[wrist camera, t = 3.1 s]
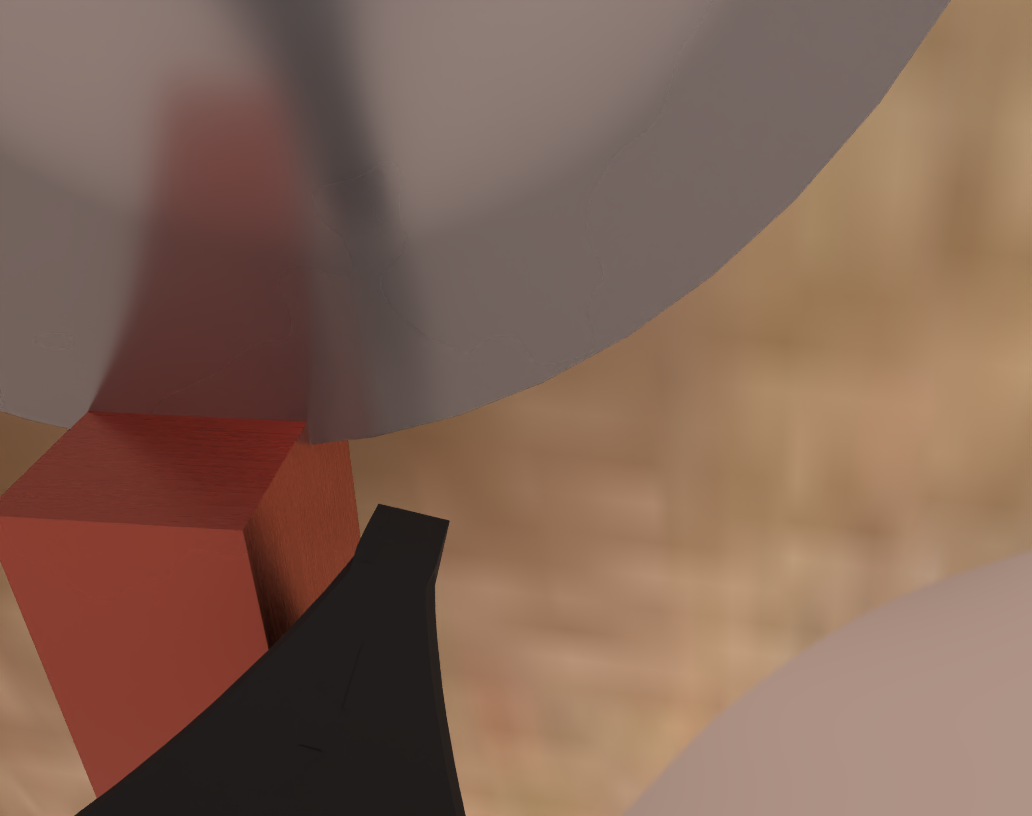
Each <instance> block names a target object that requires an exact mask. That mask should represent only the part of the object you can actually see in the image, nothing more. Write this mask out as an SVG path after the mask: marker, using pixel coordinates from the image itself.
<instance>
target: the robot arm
mask: <svg viewBox="0 0 1032 816" xmlns="http://www.w3.org/2000/svg"><path fill="white" fill-rule="evenodd" d="M448 526H449V520H445V519H441V518H436V517H432V516H428V515H424V514H420V513H415V512H411V511H407V510H403V509H399V508H395V507H390V506H386V505H382V504H378V506H377V508H376V510H375V511H374V513H373V515H372V517H371V519H370V521H369V523H368V524H367V526H366V528H365V530H364V533H363V535H362V537H361V539H360V541H359V543H358V545H357V547H356V551H355V554H354V556H353V557H352V559H351V560H350V561H349V562H348V564H347V565H346V566H345V567H344V568H343V569H342V571H341V572H340V573H339V574H338V575H337V577H336V578H335V579H334V580H333V581H332V583H331V584H330V585H329V586H328V587H327V588H326V590H325V591H324V592H323V593H322V594H321V595H320V596H319V597H318V598H317V599H316V600H315V601H314V602H313V604H312V605H311V606H310V607H309V608H308V609H307V610H306V611H305V612H304V613H303V614H302V615H301V617H300V618H299V619H298V620H297V621H296V622H295V623H294V624H293V625H292V626H291V627H290V628H289V629H288V631H287V632H286V633H285V634H284V635H283V636H282V637H281V638H280V639H279V640H278V641H277V642H276V643H275V644H274V645H273V646H272V647H271V648H270V649H269V650H268V651H267V652H266V653H265V654H264V655H263V656H261V657H260V658H259V659H258V660H257V661H256V662H255V663H254V664H253V665H252V666H251V667H250V668H249V669H248V670H247V671H246V672H245V673H244V674H243V675H242V676H241V677H239V678H238V679H237V680H236V681H235V682H234V683H233V684H232V685H231V686H230V687H229V688H228V689H227V690H226V691H225V692H224V693H223V694H222V695H221V696H220V697H219V698H217V699H216V700H215V701H214V702H213V703H212V704H211V705H210V706H209V707H207V708H206V709H205V710H204V711H203V712H202V713H201V714H200V715H198V716H197V717H196V718H195V719H194V720H193V721H192V722H190V723H189V724H188V725H187V726H186V727H185V728H184V729H182V730H181V731H180V732H179V733H178V734H177V735H175V736H174V737H173V738H172V739H171V740H170V741H168V742H167V743H166V744H165V745H164V746H162V747H161V748H160V749H159V750H157V751H156V752H155V753H154V754H153V755H151V756H150V757H149V758H148V759H147V760H145V761H144V762H143V763H142V764H140V765H139V766H138V767H137V768H136V769H134V770H133V771H132V772H131V773H129V774H128V775H127V776H126V777H124V778H123V779H122V780H121V781H119V782H118V783H117V784H116V785H114V786H113V787H112V788H110V789H109V790H108V791H106V792H105V793H104V794H102V795H101V796H100V797H98V798H97V799H96V800H94V801H93V802H92V803H90V804H89V805H88V806H87V807H85V808H84V809H83V810H81V811H80V812H79V813H77V814H76V815H75V816H466V815H465V811H464V806H463V802H462V797H461V792H460V788H459V783H458V778H457V773H456V768H455V763H454V757H453V751H452V746H451V740H450V734H449V728H448V723H447V717H446V710H445V703H444V696H443V689H442V680H441V670H440V661H439V651H438V642H437V630H436V614H435V583H436V578H437V574H438V570H439V565H440V561H441V556H442V552H443V548H444V543H445V539H446V534H447V530H448Z"/></svg>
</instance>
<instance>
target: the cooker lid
mask: <svg viewBox="0 0 1032 816" xmlns="http://www.w3.org/2000/svg"><path fill="white" fill-rule="evenodd" d="M949 2H950V0H0V411H3V412H6V413H9V414H12V415H15V416H18V417H21V418H25V419H28V420H31V421H35V422H40V423H45V424H49V425H54V426H59V427H63V428H68V429H69V430H68V431H67V432H66V433H65V434H64V435H63V436H62V437H61V438H60V439H59V440H58V441H57V442H56V443H55V444H54V445H53V446H52V447H51V448H50V449H49V450H48V451H47V452H46V453H45V454H44V455H43V456H42V457H41V458H40V459H39V460H38V461H37V462H36V463H35V464H34V465H33V466H32V467H31V468H30V469H28V470H27V471H26V472H25V473H24V474H23V475H22V476H21V477H20V478H19V479H18V480H17V481H16V482H15V483H14V484H13V485H12V486H11V487H10V488H9V489H8V490H7V491H6V492H5V493H4V494H3V495H2V496H1V497H0V561H1V564H2V566H3V569H4V571H5V574H6V576H7V578H8V581H9V583H10V586H11V588H12V591H13V593H14V596H15V598H16V601H17V603H18V605H19V608H20V610H21V613H22V615H23V618H24V620H25V623H26V625H27V628H28V630H29V632H30V635H31V637H32V640H33V642H34V645H35V647H36V650H37V652H38V655H39V657H40V660H41V662H42V664H43V667H44V669H45V672H46V674H47V677H48V679H49V682H50V684H51V687H52V689H53V691H54V694H55V696H56V699H57V701H58V704H59V706H60V709H61V711H62V714H63V716H64V718H65V721H66V723H67V726H68V728H69V731H70V733H71V736H72V738H73V741H74V743H75V746H76V748H77V750H78V753H79V755H80V758H81V760H82V763H83V765H84V768H85V770H86V773H87V775H88V777H89V780H90V782H91V785H92V787H93V790H94V792H95V795H96V797H97V798H98V797H100V796H101V795H102V794H104V793H105V792H106V791H108V790H109V789H110V788H112V787H113V786H114V785H116V784H117V783H118V782H119V781H121V780H122V779H123V778H124V777H126V776H127V775H128V774H129V773H131V772H132V771H133V770H134V769H136V768H137V767H138V766H139V765H140V764H142V763H143V762H144V761H145V760H147V759H148V758H149V757H150V756H151V755H153V754H154V753H155V752H156V751H157V750H159V749H160V748H161V747H162V746H164V745H165V744H166V743H167V742H168V741H170V740H171V739H172V738H173V737H174V736H175V735H177V734H178V733H179V732H180V731H181V730H182V729H184V728H185V727H186V726H187V725H188V724H189V723H190V722H192V721H193V720H194V719H195V718H196V717H197V716H198V715H200V714H201V713H202V712H203V711H204V710H205V709H206V708H207V707H209V706H210V705H211V704H212V703H213V702H214V701H215V700H216V699H217V698H219V697H220V696H221V695H222V694H223V693H224V692H225V691H226V690H227V689H228V688H229V687H230V686H231V685H232V684H233V683H234V682H235V681H236V680H237V679H238V678H239V677H241V676H242V675H243V674H244V673H245V672H246V671H247V670H248V669H249V668H250V667H251V666H252V665H253V664H254V663H255V662H256V661H257V660H258V659H259V658H260V657H261V656H263V655H264V654H265V653H266V652H267V651H268V650H269V649H270V648H271V647H272V646H273V645H274V644H275V643H276V642H277V641H278V640H279V639H280V638H281V637H282V636H283V635H284V634H285V633H286V632H287V631H288V629H289V628H290V627H291V626H292V625H293V624H294V623H295V622H296V621H297V620H298V619H299V618H300V617H301V615H302V614H303V613H304V612H305V611H306V610H307V609H308V608H309V607H310V606H311V605H312V604H313V602H314V601H315V600H316V599H317V598H318V597H319V596H320V595H321V594H322V593H323V592H324V591H325V590H326V588H327V587H328V586H329V585H330V584H331V583H332V581H333V580H334V579H335V578H336V577H337V575H338V574H339V573H340V572H341V571H342V569H343V568H344V567H345V566H346V565H347V564H348V562H349V561H350V560H351V559H352V557H353V556H354V554H355V551H356V547H357V545H358V543H359V541H360V539H361V538H360V531H359V523H358V515H357V507H356V499H355V492H354V484H353V476H352V468H351V460H350V453H349V445H348V440H353V439H361V438H369V437H375V436H379V435H383V434H387V433H391V432H395V431H399V430H403V429H407V428H411V427H415V426H419V425H423V424H427V423H431V422H435V421H439V420H443V419H447V418H451V417H455V416H458V415H461V414H463V413H466V412H468V411H471V410H474V409H476V408H479V407H481V406H484V405H486V404H489V403H492V402H494V401H497V400H499V399H502V398H504V397H507V396H510V395H512V394H515V393H517V392H520V391H522V390H525V389H528V388H530V387H533V386H535V385H538V384H540V383H543V382H545V381H546V380H548V379H550V378H552V377H554V376H556V375H557V374H559V373H561V372H563V371H565V370H567V369H569V368H570V367H572V366H574V365H576V364H578V363H580V362H581V361H583V360H585V359H587V358H589V357H591V356H593V355H594V354H596V353H598V352H600V351H602V350H604V349H605V348H607V347H609V346H611V345H613V344H615V343H617V342H618V341H620V340H622V339H624V338H626V337H627V336H629V335H630V334H632V333H633V332H634V331H636V330H637V329H639V328H640V327H641V326H643V325H644V324H646V323H647V322H648V321H650V320H651V319H653V318H654V317H655V316H657V315H658V314H660V313H661V312H662V311H664V310H665V309H667V308H668V307H669V306H671V305H672V304H674V303H675V302H676V301H678V300H679V299H681V298H682V297H683V296H685V295H686V294H688V293H689V292H690V291H692V290H693V289H695V288H696V287H697V286H699V285H700V284H702V283H703V282H704V281H706V280H707V279H709V278H710V277H711V276H712V275H714V274H715V273H716V272H717V271H718V270H719V269H720V268H721V267H722V266H723V265H724V264H726V263H727V262H728V261H729V260H730V259H731V258H732V257H733V256H734V255H735V254H737V253H738V252H739V251H740V250H741V249H742V248H743V247H744V246H745V245H746V244H747V243H749V242H750V241H751V240H752V239H753V238H754V237H755V236H756V235H757V234H758V233H760V232H761V231H762V230H763V229H764V228H765V227H766V226H767V225H768V224H769V223H770V222H772V221H773V220H774V219H775V218H776V217H777V216H778V215H779V214H780V213H781V212H783V211H784V210H785V209H786V208H787V207H788V206H789V205H790V204H791V203H792V202H794V201H795V200H796V199H797V197H798V196H799V195H800V194H801V193H802V192H803V190H804V189H805V188H806V187H807V186H808V185H809V184H810V182H811V181H812V180H813V179H814V178H815V177H816V175H817V174H818V173H819V172H820V171H821V170H822V169H823V167H824V166H825V165H826V164H827V163H828V162H829V161H830V159H831V158H832V157H833V156H834V155H835V154H836V152H837V151H838V150H839V149H840V148H841V147H842V146H843V144H844V143H845V142H846V141H847V140H848V139H849V138H850V136H851V135H852V134H853V133H854V132H855V131H856V129H857V128H858V127H859V126H860V125H861V124H862V123H863V121H864V120H865V119H866V118H867V117H868V116H869V115H870V113H871V112H872V111H873V110H874V109H875V108H876V106H877V105H878V104H879V103H880V102H881V100H882V99H883V97H884V96H885V94H886V93H887V91H888V90H889V89H890V87H891V86H892V84H893V83H894V81H895V80H896V78H897V77H898V76H899V74H900V73H901V71H902V70H903V68H904V67H905V65H906V64H907V63H908V61H909V60H910V58H911V57H912V55H913V54H914V52H915V51H916V50H917V48H918V47H919V45H920V44H921V42H922V41H923V39H924V38H925V37H926V35H927V34H928V32H929V31H930V29H931V28H932V26H933V25H934V24H935V22H936V21H937V19H938V18H939V16H940V15H941V13H942V12H943V11H944V9H945V8H946V6H947V5H948V3H949Z"/></svg>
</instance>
